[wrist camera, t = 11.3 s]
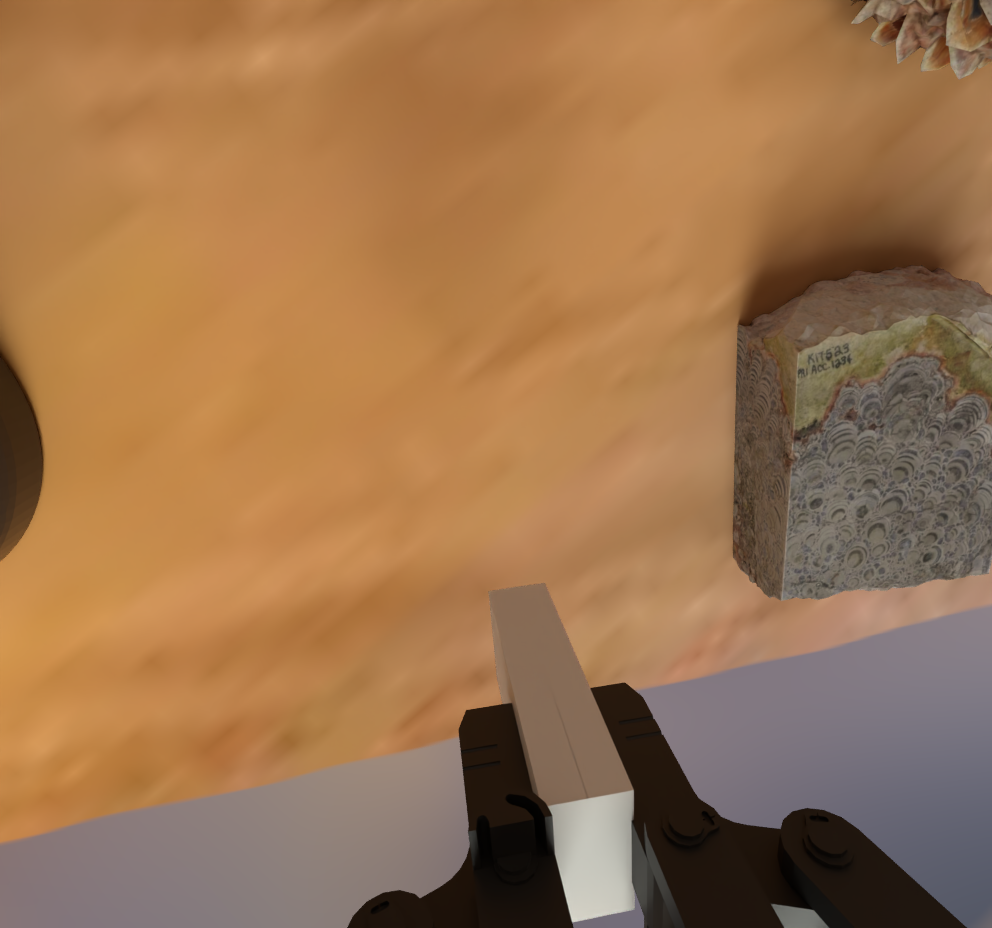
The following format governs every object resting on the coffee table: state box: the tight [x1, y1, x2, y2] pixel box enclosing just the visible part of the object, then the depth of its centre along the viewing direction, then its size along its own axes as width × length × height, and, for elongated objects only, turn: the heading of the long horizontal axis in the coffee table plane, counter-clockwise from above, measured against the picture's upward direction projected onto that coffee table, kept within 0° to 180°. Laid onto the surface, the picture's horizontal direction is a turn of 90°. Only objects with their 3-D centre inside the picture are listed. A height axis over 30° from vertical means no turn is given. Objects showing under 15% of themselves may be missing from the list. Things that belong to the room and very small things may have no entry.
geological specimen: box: [733, 265, 992, 601], centre depth 28 cm, size 11×6×15 cm
